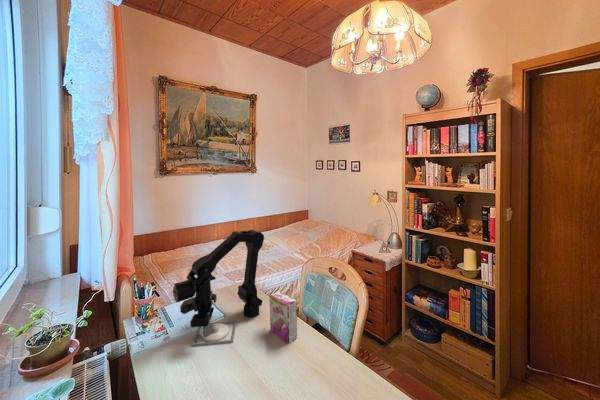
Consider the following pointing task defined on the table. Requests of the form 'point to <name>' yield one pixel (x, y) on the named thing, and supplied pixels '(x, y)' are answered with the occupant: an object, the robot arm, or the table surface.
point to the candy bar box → (283, 316)
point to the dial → (215, 332)
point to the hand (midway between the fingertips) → (206, 328)
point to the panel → (215, 341)
